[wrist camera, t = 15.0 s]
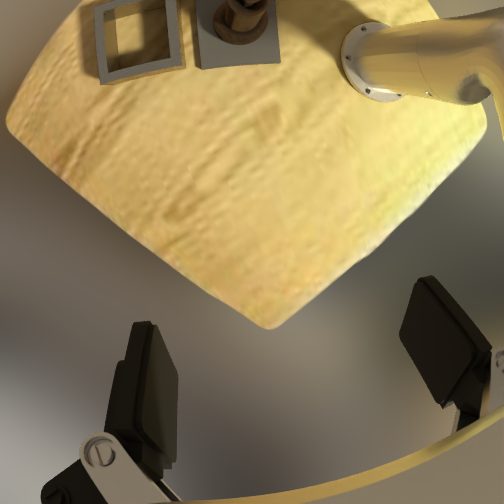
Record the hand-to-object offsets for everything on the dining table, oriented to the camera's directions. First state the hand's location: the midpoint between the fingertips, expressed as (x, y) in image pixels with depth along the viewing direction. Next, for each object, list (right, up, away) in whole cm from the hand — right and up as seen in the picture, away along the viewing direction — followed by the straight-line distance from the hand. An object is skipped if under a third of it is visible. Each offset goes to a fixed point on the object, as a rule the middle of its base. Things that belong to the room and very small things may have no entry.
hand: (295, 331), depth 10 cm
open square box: (-15, +30, +19) cm, 39 cm away
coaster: (-3, +32, +20) cm, 37 cm away
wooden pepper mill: (-3, +31, +19) cm, 37 cm away
